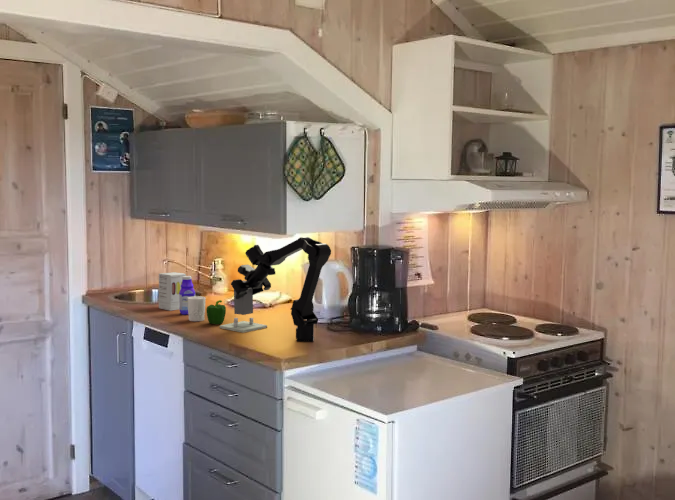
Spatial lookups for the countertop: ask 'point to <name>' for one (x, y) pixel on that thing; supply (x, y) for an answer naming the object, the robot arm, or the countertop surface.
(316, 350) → the countertop surface
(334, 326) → the countertop surface
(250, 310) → the plug block
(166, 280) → the supplement box
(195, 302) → the white cup
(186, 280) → the bottle
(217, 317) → the bell pepper
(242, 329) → the board
